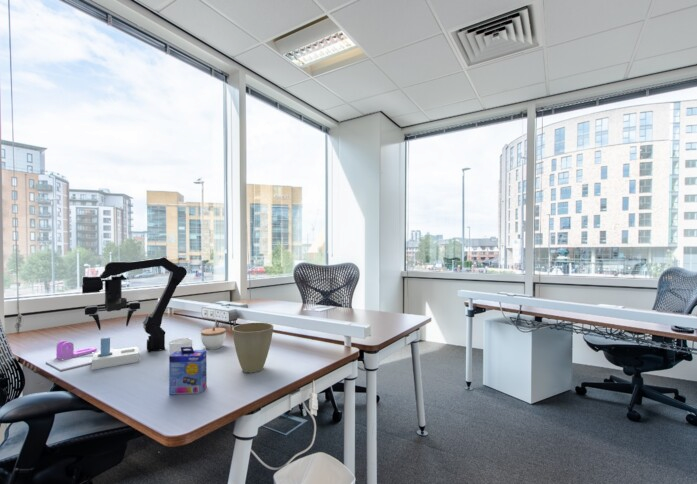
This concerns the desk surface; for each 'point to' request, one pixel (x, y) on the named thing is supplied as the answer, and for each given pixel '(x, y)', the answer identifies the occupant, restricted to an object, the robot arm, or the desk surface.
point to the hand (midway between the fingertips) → (113, 328)
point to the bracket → (71, 350)
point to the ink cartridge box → (187, 371)
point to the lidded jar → (213, 337)
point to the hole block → (116, 358)
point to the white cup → (179, 344)
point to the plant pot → (252, 345)
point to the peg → (105, 346)
